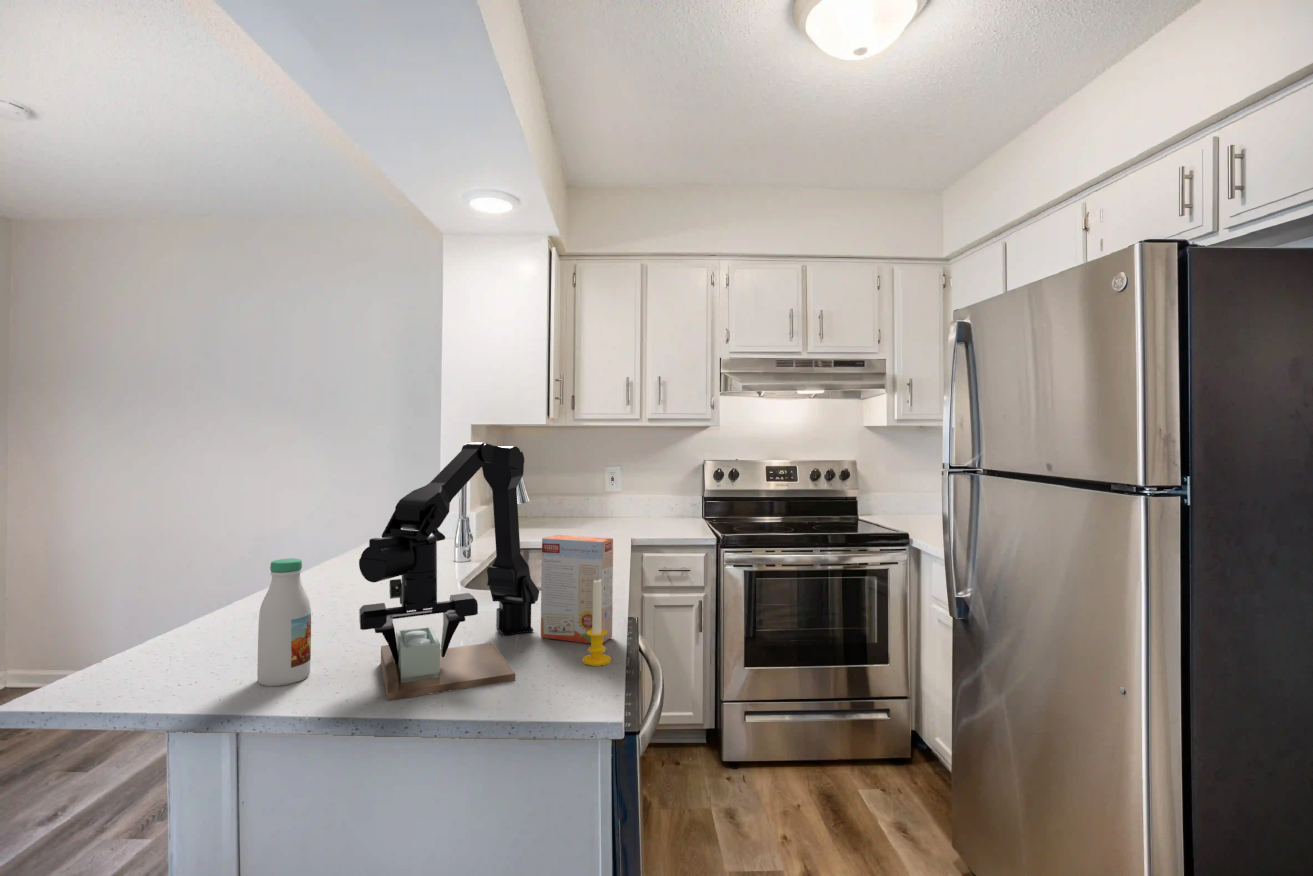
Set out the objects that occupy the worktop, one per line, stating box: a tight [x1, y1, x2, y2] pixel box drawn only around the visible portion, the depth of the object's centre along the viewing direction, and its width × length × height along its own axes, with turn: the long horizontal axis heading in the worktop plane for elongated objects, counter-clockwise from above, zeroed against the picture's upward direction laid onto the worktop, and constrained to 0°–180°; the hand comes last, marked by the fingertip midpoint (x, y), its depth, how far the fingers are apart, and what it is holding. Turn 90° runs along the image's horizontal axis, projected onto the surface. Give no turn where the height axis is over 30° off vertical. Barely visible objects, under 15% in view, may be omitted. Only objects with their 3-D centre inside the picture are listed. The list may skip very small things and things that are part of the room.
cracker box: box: [540, 534, 614, 644], centre depth 130 cm, size 14×6×21 cm, turn 71°
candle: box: [582, 578, 612, 667], centre depth 116 cm, size 5×5×16 cm
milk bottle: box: [257, 557, 312, 687], centre depth 106 cm, size 8×8×20 cm
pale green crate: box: [395, 626, 441, 683], centre depth 108 cm, size 6×11×6 cm, turn 27°
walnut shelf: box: [380, 642, 516, 702], centre depth 110 cm, size 20×18×3 cm
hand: (419, 660), depth 108 cm, fingers open, 7 cm apart
